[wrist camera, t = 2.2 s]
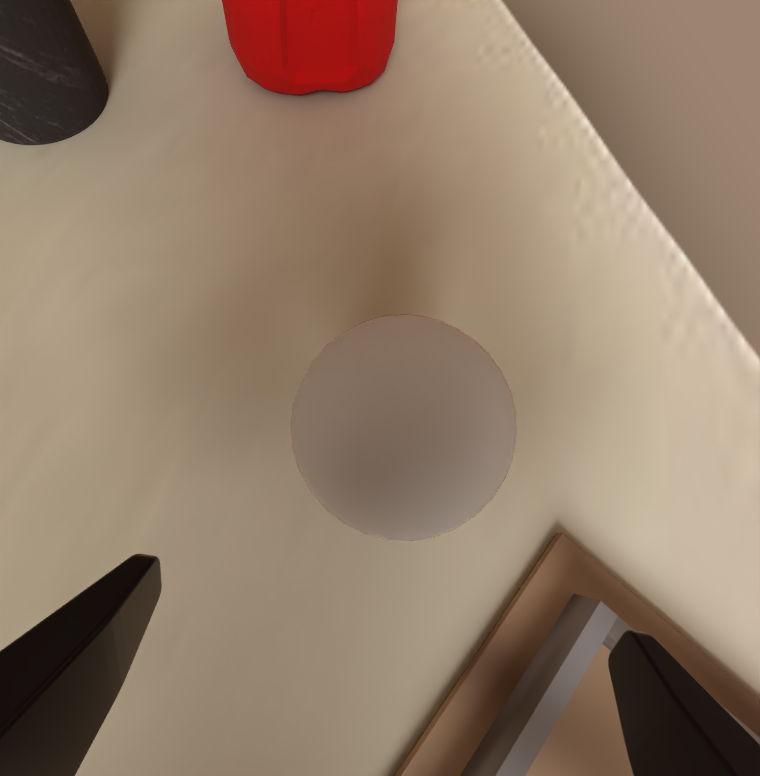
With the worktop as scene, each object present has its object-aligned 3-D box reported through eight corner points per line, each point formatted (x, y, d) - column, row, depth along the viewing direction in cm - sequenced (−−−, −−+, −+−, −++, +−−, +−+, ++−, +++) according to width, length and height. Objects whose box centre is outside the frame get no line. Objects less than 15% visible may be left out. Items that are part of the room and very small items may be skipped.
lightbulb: (322, 389, 21) (309, 248, 10) (450, 410, 21) (562, 294, 11) (295, 524, 19) (246, 518, 9) (436, 546, 19) (556, 566, 9)
